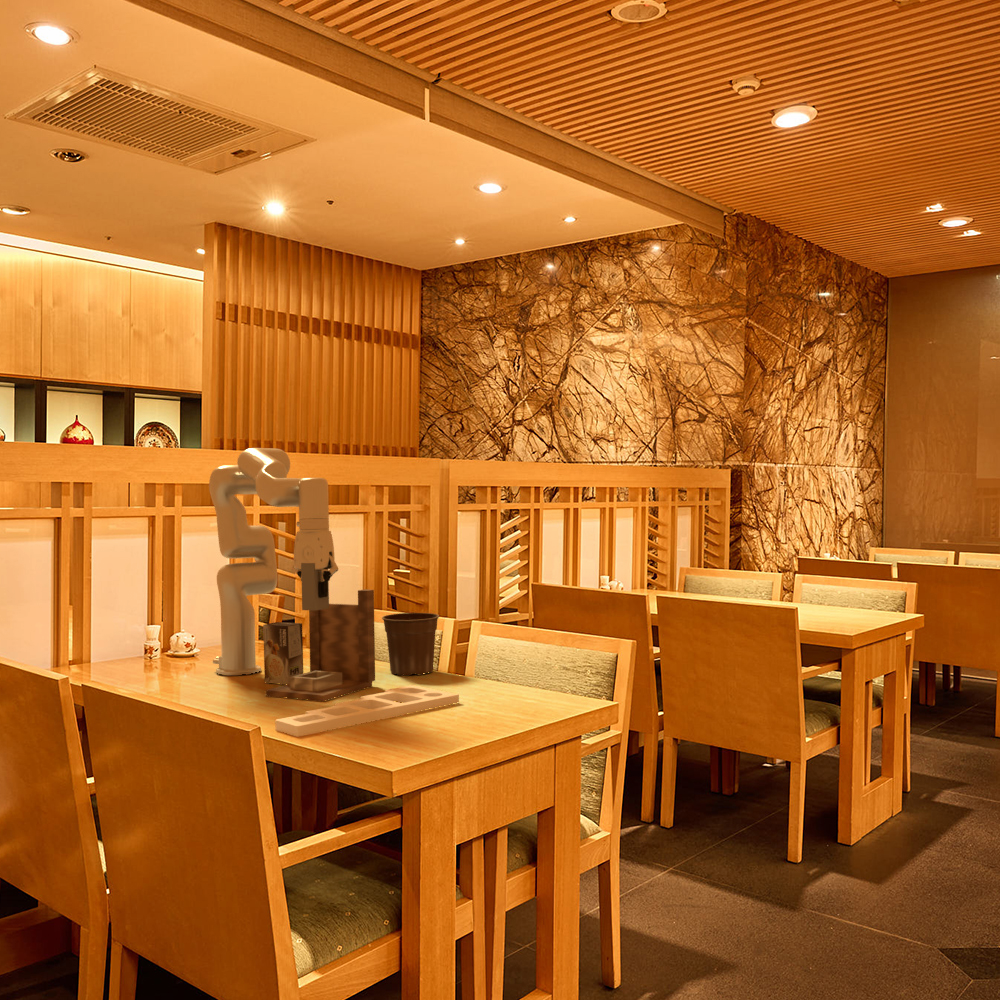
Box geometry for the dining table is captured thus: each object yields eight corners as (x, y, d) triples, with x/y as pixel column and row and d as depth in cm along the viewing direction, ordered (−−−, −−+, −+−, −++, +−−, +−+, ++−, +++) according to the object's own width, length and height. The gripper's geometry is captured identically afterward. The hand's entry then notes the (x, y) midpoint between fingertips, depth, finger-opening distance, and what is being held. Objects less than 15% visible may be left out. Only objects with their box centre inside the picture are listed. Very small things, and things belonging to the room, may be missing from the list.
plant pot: (421, 679, 267) (420, 620, 267) (372, 675, 274) (371, 618, 274) (450, 669, 282) (449, 613, 282) (402, 666, 289) (401, 611, 289)
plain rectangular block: (302, 610, 249) (301, 563, 249) (316, 607, 254) (315, 561, 254) (314, 610, 247) (313, 563, 247) (329, 608, 252) (328, 561, 252)
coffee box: (305, 681, 266) (304, 622, 266) (289, 685, 261) (288, 625, 261) (278, 679, 271) (277, 621, 271) (263, 683, 265) (262, 624, 265)
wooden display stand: (264, 696, 247) (262, 595, 247) (317, 681, 266) (315, 588, 267) (325, 701, 239) (323, 597, 239) (375, 686, 258) (373, 589, 258)
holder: (297, 739, 203) (297, 726, 203) (253, 725, 216) (253, 713, 216) (459, 705, 234) (459, 694, 234) (412, 695, 247) (412, 685, 247)
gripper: (278, 526, 251) (280, 597, 251) (331, 525, 244) (333, 599, 244) (297, 525, 258) (298, 595, 258) (349, 525, 250) (351, 596, 250)
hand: (315, 596), depth 251 cm, fingers closed on plain rectangular block, 4 cm apart
